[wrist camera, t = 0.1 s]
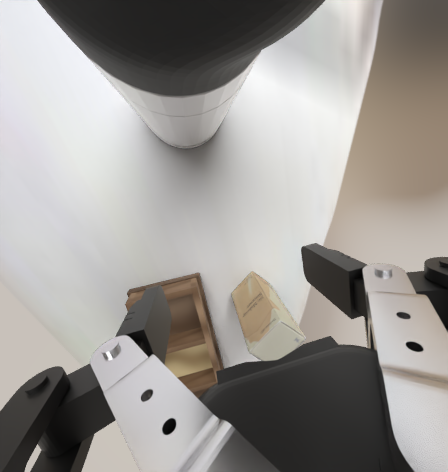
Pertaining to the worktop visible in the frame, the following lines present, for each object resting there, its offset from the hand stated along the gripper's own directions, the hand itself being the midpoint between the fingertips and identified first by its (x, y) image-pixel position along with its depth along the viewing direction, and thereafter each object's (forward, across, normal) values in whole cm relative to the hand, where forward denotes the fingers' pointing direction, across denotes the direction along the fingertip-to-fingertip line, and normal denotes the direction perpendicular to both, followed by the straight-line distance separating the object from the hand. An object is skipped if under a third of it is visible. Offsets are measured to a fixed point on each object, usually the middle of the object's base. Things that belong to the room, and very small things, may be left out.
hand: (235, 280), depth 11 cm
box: (+18, -4, +12) cm, 22 cm away
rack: (+18, +9, +20) cm, 28 cm away
